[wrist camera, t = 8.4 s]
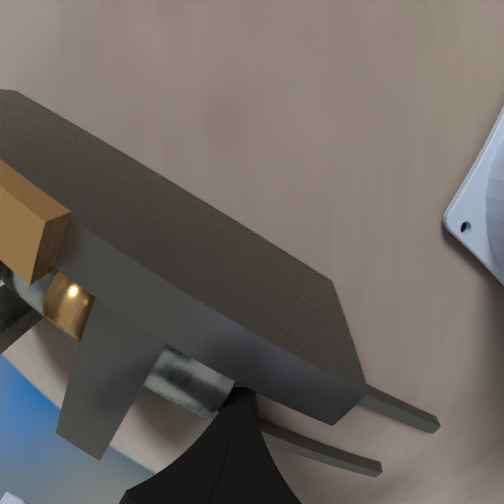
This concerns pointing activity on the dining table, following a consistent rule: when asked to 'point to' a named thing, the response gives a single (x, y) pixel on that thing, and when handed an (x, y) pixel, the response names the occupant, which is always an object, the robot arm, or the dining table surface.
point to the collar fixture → (168, 289)
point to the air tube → (166, 367)
